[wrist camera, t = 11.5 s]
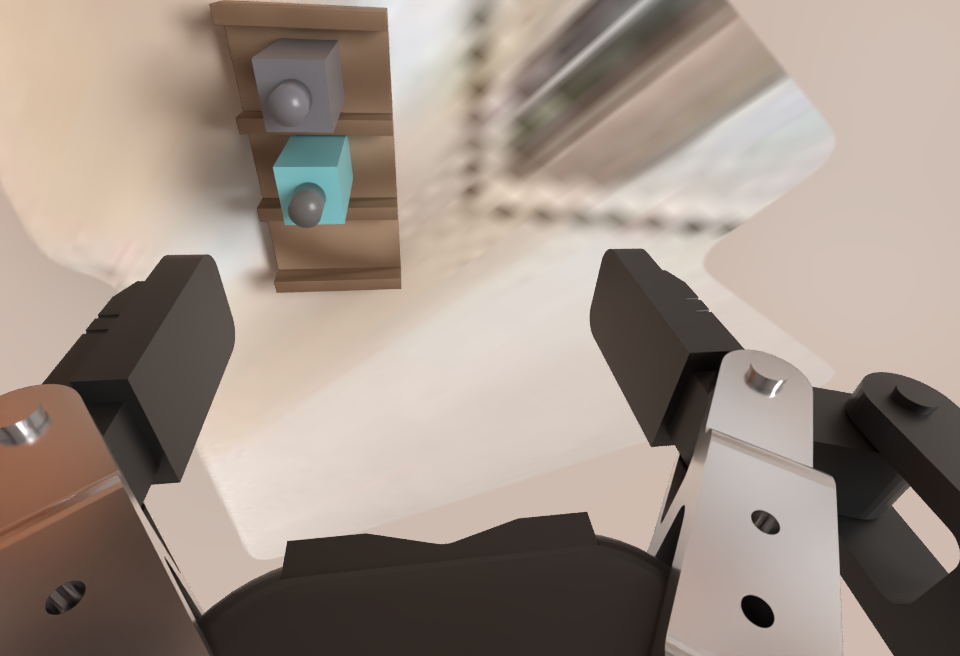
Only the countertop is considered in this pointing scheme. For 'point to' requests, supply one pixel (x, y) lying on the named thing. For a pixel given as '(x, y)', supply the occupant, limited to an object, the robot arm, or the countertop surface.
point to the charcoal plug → (300, 85)
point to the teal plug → (314, 179)
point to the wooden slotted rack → (364, 118)
